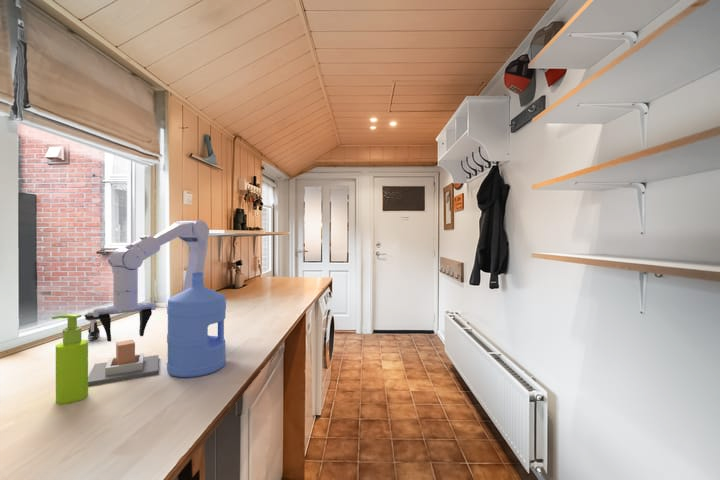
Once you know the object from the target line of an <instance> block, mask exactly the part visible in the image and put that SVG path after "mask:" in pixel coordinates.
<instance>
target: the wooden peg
mask: <svg viewBox="0 0 720 480" xmlns="http://www.w3.org/2000/svg"><path fill="white" fill-rule="evenodd" d="M135 354H136V342H135V341H134V339H128V340H127V339H126V340H122V341H116V342H115V357H116V365H122V364H129V363H135Z"/></svg>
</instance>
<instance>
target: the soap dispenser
mask: <svg viewBox="0 0 720 480" xmlns="http://www.w3.org/2000/svg"><path fill="white" fill-rule="evenodd" d="M81 317H82V314H81V313H62V314H59V315H56V316H52V317H51V319H52V320H56V319H67V327H66V328H64V329H62V342H60V343H57V344H55V403H56V404H58V405H67V404H72V403H75V402H79V401H82V400H83V399H85V398H87V397H88V395H89V386H88V376H89V340H87V339H82V327H81V326H79V325H78V318H81Z"/></svg>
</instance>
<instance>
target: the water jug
mask: <svg viewBox="0 0 720 480" xmlns="http://www.w3.org/2000/svg"><path fill="white" fill-rule="evenodd" d="M204 279H205V278H204V272H203V273H202V272H196V273H192V286H191V287H190V288H189V289H187V290H185V291H183V290H182V291H181V292H178V293H177V294H175V295H173V296H171V297H169V298H168V300H167V307H166V310H167V311H166V312H167V313H166V314H167V335H166V343H167V362H166V370H167V373H169V375H171V376H173V377H177V378H196V377H201V376H206V375H210V374H212V373H215V372H217V371H219V370H220V369H222V368H223V367H224V366H225V364H226V362H227V360H226V358H227V355H226V339H225V319H226V314H227V313H226V310H227V301H226V295H225V294H223V293H221V292H218V291H215V290H213V289H211V288H208V287H206V286H205V285H204ZM213 324H217V336H216V335H209V333H208V332H209V330H208V328H209V326H210V325H213Z"/></svg>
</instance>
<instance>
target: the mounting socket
mask: <svg viewBox="0 0 720 480" xmlns="http://www.w3.org/2000/svg"><path fill="white" fill-rule="evenodd" d="M154 375H159V354H155V355H148V356H145V353H135V363H129V364H122V365H116V356H114V357H109V358H108V361H107V362H100V363H98V362H97V363H94V365H93V366H92V368H91V371H90V373H88V387H89V386H94V385H95V386H96V385H101V384H107V383H113V382H119V381H126V380H130V379H136V378H143V377H149V376H154Z"/></svg>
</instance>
